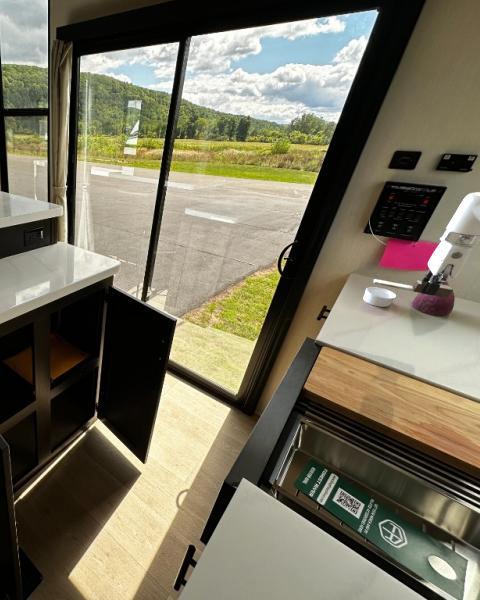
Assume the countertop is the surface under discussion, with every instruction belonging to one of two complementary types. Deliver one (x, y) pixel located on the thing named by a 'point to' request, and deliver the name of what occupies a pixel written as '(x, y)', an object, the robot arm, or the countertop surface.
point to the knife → (417, 287)
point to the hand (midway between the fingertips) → (425, 291)
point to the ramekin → (379, 296)
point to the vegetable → (434, 303)
